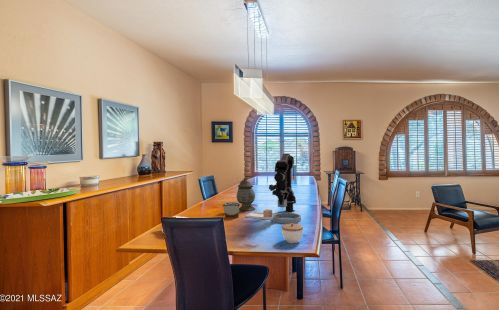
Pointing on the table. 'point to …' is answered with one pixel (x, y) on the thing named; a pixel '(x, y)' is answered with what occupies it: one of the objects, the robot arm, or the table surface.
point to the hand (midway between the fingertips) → (282, 204)
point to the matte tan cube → (267, 213)
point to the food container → (231, 209)
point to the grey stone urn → (245, 195)
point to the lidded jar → (292, 232)
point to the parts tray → (258, 215)
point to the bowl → (287, 218)
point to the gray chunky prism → (283, 203)
